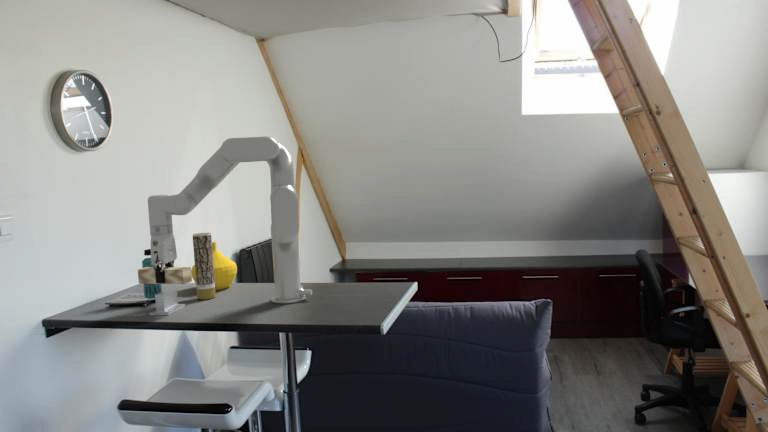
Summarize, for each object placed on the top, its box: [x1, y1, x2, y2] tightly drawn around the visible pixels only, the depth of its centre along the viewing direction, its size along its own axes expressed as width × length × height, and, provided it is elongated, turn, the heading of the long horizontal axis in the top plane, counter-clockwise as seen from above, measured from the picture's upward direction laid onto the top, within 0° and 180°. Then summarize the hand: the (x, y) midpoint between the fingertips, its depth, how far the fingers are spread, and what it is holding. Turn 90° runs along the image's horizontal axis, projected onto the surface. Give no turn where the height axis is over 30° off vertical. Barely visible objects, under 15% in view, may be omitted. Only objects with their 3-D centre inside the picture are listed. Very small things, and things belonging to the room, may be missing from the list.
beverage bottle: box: [141, 248, 163, 300], centre depth 225 cm, size 6×7×20 cm
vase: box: [191, 241, 238, 291], centre depth 243 cm, size 18×18×19 cm
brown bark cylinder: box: [192, 232, 216, 301], centre depth 225 cm, size 7×7×25 cm
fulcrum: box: [149, 287, 186, 316], centre depth 208 cm, size 7×12×7 cm, turn 173°
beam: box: [137, 266, 193, 285], centre depth 207 cm, size 18×5×5 cm, turn 75°
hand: (165, 280), depth 207 cm, fingers closed on beam, 5 cm apart
